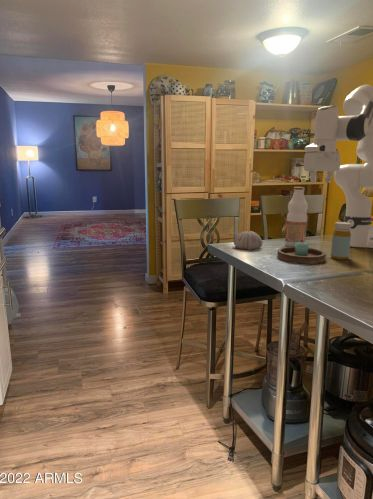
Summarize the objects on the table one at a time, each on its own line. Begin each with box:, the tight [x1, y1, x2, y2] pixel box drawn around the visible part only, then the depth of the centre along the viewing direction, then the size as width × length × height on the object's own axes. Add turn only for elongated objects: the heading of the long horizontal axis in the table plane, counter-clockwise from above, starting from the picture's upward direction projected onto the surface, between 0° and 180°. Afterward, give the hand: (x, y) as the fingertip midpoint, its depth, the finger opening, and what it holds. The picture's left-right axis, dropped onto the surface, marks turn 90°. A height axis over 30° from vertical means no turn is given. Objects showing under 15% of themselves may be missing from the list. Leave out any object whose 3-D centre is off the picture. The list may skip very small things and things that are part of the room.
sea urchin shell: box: [233, 230, 264, 251], centre depth 178 cm, size 13×14×8 cm
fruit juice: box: [284, 186, 309, 247], centre depth 182 cm, size 9×9×28 cm
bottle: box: [330, 221, 351, 261], centre depth 159 cm, size 7×7×15 cm
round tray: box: [276, 246, 327, 265], centre depth 160 cm, size 19×19×3 cm
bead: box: [295, 241, 309, 256], centre depth 159 cm, size 5×5×6 cm
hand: (321, 182), depth 157 cm, fingers open, 8 cm apart
